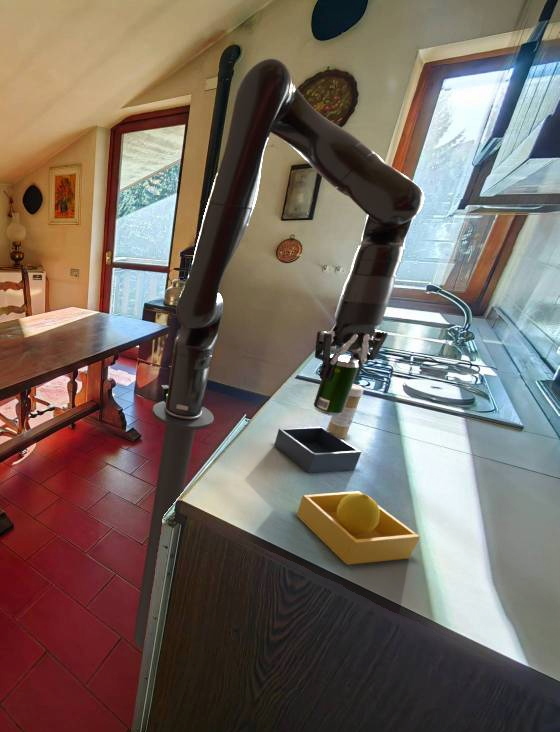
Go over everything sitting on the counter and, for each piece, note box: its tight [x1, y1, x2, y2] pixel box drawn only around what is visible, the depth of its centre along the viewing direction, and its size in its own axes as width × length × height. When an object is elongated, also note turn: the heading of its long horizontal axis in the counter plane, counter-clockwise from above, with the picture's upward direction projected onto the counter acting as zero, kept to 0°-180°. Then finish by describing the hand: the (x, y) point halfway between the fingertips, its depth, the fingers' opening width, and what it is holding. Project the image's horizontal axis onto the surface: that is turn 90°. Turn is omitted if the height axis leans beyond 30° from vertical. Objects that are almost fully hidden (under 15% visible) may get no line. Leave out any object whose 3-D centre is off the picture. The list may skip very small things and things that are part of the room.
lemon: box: [337, 492, 380, 534], centre depth 65 cm, size 6×6×8 cm
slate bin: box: [273, 426, 362, 474], centre depth 88 cm, size 11×11×5 cm
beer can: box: [313, 354, 359, 416], centre depth 82 cm, size 5×5×12 cm
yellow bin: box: [296, 490, 421, 565], centre depth 66 cm, size 11×11×5 cm
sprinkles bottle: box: [325, 383, 365, 439], centre depth 97 cm, size 5×5×13 cm
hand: (337, 378), depth 82 cm, fingers closed on beer can, 5 cm apart
